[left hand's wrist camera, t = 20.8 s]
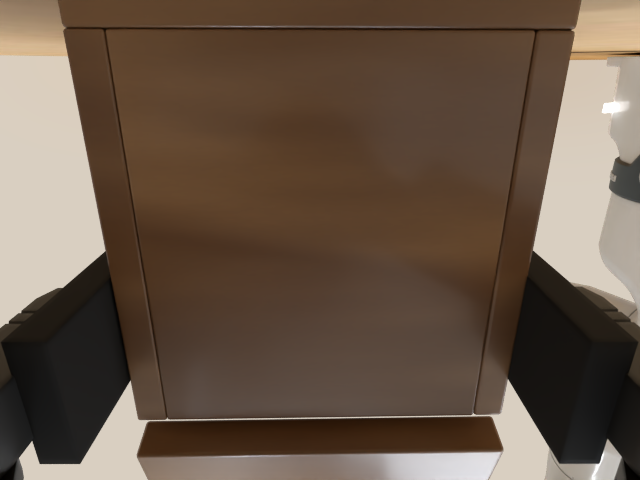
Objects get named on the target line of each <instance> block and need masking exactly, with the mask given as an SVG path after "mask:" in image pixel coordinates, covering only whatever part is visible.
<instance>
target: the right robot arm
mask: <svg viewBox="0 0 640 480" xmlns="http://www.w3.org/2000/svg"><path fill="white" fill-rule="evenodd" d="M607 66H618V67H619V69H618V75H617V81H616V87H615V93H614V99H613V103H606V104H604V108H603V113H610V112H611V117H610V123H609V131H608V132H609V135H610V136H611V138H612V139H613V140H614V141H615V143H616V144H617V147H618V150H619V154H620V156H619V157H617V158H616V159H615V162H614V166H613V170H612V171H611V174H610V178H611V179H610V184H609V189H610V190H611V191H612V194H611V198H610V202H609V205H608V209H607V213H606V217H605V221H604V225H603V229H602V233H601V237H600V241H599V250H600V254H601V258H602V260H603V262H604V264H605V266H606V267H607V268H608V269H609V270H610V271H611V272H612V273H613V274H614V275H615V276H616V277H617V278H618V279H619V280H620V281H621V282H622V283H623V284H624V285H625V286H626V287H627V289H628V290H629V292H630V293H631V295H632V297H633V299H634V301H635V303H633V302H631V301H628V300H625V299H623V298H620V297H617V296H615V295H612V294H609V293H607V292H604V291H601V290H599V289H596V288H593V287H591V286H586V285H581V284H576V283H571V282H570V283H571V284H572V285H573V286H575V287H584V288H586V289H588V290H590V291H592V292H594V293H596V294H598V295H600V296H602V297H604V298H605V299H606V300H608V301H609V302H610V303H611V304H612V305H614V306H615V307H616V308H617V309H618V312H622V313H623V314H625V315H626V316H627V317H628V318H630V319H631V322H635V323H636V324H637V325H638V326H639V327H640V56H627V57H608V58H607ZM621 458H622V457H621V455H620V454H619V453H618V452H617V450H616V449H615V448H614V446H613V445H612V444H611V442H610V441H609V440H608V439H607V442H606V445H605V448H604V451H603V455H602V458H601V461H600V464H559V463H558V461H557V459H556V458H555V456H554V454H553V453H552V451H551V449H550V448H549V453H548V460H547V471H546V476H545V480H614V478H615V475H616V472H617V469H618V466H619V463H620V460H621Z"/></svg>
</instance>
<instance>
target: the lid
mask: <svg viewBox="0 0 640 480" xmlns="http://www.w3.org/2000/svg"><path fill="white" fill-rule="evenodd" d="M502 453H503V446H502V443H501V441H500V438H499V435H498V432H497V429H496V427H495V424H494V421H493V419H492V417H490V416H478V417H410V418H342V419H275V420H207V421H149V422H148V423H147V424H146V427H145V430H144V433H143V437H142V440H141V443H140V446H139V449H138V453H137V458H138V460H139V462H140V464H141V466H142V468H143V470H144V472H145V474H146V476H147V478H148V480H489V478H490V476H491V474H492V472H493V470H494V468H495V466H496V464H497V462H498V461H499V458H500V457H501V455H502Z"/></svg>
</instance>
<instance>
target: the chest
mask: <svg viewBox="0 0 640 480" xmlns="http://www.w3.org/2000/svg"><path fill="white" fill-rule="evenodd" d="M58 4H59V9H60V14H61V19H62V24H63V26H64V27H66V29H64V31H63V32H64V37H65V43H66V48H67V53H68V58H69V63H70V68H71V74H72V79H73V84H74V89H75V94H76V100H77V105H78V110H79V115H80V120H81V125H82V131H83V136H84V141H85V146H86V151H87V157H88V162H89V167H90V172H91V177H92V182H93V188H94V193H95V198H96V203H97V208H98V214H99V219H100V224H101V229H102V234H103V239H104V245H105V250H106V255H107V260H108V265H109V271H110V276H111V281H112V286H113V291H114V296H115V302H116V307H117V312H118V317H119V322H120V328H121V333H122V338H123V343H124V348H125V353H126V359H127V364H128V369H129V374H130V379H131V384H132V390H133V395H134V400H135V405H136V410H137V416H138V419H139V420H165V419H167V417H168V419H232V418H301V417H369V416H438V415H472V414H473V413H474V414H476V415H486V414H500V413H501V411H502V406H503V401H504V396H505V391H506V385H507V380H508V374H509V369H510V364H511V359H512V354H513V348H514V343H515V338H516V333H517V328H518V322H519V317H520V312H521V307H522V302H523V296H524V291H525V286H526V281H527V276H528V272H529V267H530V262H531V257H532V251H533V246H534V241H535V236H536V231H537V225H538V220H539V215H540V210H541V205H542V200H543V195H544V189H545V184H546V179H547V174H548V169H549V163H550V158H551V153H552V148H553V143H554V138H555V133H556V127H557V122H558V117H559V112H560V107H561V102H562V96H563V91H564V86H565V81H566V76H567V70H568V65H569V60H570V55H571V50H572V45H573V40H574V32H573V31H571V30H572V29H574V28H575V27H576V25H577V20H578V15H579V9H580V4H581V0H58Z"/></svg>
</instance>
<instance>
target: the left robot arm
mask: <svg viewBox="0 0 640 480" xmlns="http://www.w3.org/2000/svg"><path fill="white" fill-rule="evenodd" d="M130 380H131V379H130V374H129V369H128V364H127V359H126V353H125V348H124V343H123V338H122V333H121V328H120V322H119V317H118V312H117V307H116V302H115V296H114V291H113V286H112V281H111V276H110V271H109V265H108V260H107V255H106V251H105V252H104V253H103V254H102V255H101V256H100V257H98V258H97V259H96V260H95V261H94V262H93V263H91V264H90V265H89V266H88V267H87V268H86V269H84V270H83V271H82V272H81V273H80V274H79V275H78V276H76V277H75V278H74V279H73V280H72V281H71V282H69V283H68V284H67V285H66V286H65V287H64V288H57V289H55V290H53V291H51V292H49V293H47V294H45V295H43V296H41V297H39V298H37V299H35V300H34V301H33V302H32V303H31V304H29V305H28V306H27V307H26V308H24V309H23V310H22V312H21V313H18V314H17V315H16V316H15V317H14V318H12V319H11V320H10V321H9V324H5V325H4V326H2V327H1V328H0V480H23V479H24V476H23V470H22V466H21V464H20V460H19V457H20V456H21V454H22V453H23V452H24V451H25V449H26V448H27V447H28V445H29V444H30V443H31V441H33V444H34V447H35V450H36V454H37V457H38V460H39V463H40V464H80V463H81V462H82V460H83V458H84V456H85V455H86V453H87V452H88V450H89V448H90V447H91V445H92V443H93V442H94V440H95V438H96V437H97V435H98V433H99V432H100V430H101V428H102V427H103V425H104V423H105V422H106V420H107V418H108V417H109V415H110V413H111V412H112V410H113V408H114V407H115V405H116V403H117V402H118V400H119V398H120V397H121V395H122V393H123V392H124V390H125V388H126V387H127V385H128V383H129V382H130ZM508 380H509V381H510V383H511V385H512V386H513V388H514V390H515V391H516V393H517V394H518V396H519V398H520V400H521V401H522V403H523V405H524V406H525V408H526V409H527V411H528V413H529V414H530V416H531V418H532V419H533V421H534V423H535V424H536V426H537V428H538V429H539V431H540V433H541V434H542V436H543V438H544V439H545V441H546V443H547V444H548V446H549V448H550V449H551V451H552V453H553V454H554V456H555V458H556V459H557V461H558V463H559V464H600V461H601V458H602V455H603V451H604V448H605V445H606V442H607V439H608V440H609V441H610V442H611V444H612V445H613V446H614V448H615V449H616V450H617V452H618V453H619V454H620V455H621V457H622V458H621V460H620V463H619V466H618V469H617V472H616V475H615V478H614V480H640V327H639V326H638V325H637V324H636V323H635V322H631V319H630V318H628V317H627V316H626V315H625V314H623V313H622V312H618V309H617V308H616V307H615V306H614V305H612V304H611V303H610V302H609V301H608V300H606V299H605V298H604V297H602V296H600V295H598V294H596V293H594V292H592V291H590V290H588V289H586V288H584V287H575V286H573V285H572V284H571V283H570V282H569V281H568V280H566V279H565V278H564V277H563V276H562V275H561V274H559V273H558V272H557V271H556V270H555V269H554V268H553V267H551V266H550V265H549V264H548V263H547V262H546V261H544V260H543V259H542V258H541V257H540V256H539V255H537V254H536V253H535V252H534V251H532V257H531V262H530V267H529V272H528V276H527V281H526V286H525V291H524V296H523V302H522V307H521V312H520V317H519V322H518V328H517V333H516V338H515V343H514V348H513V354H512V359H511V364H510V369H509V374H508Z"/></svg>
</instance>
